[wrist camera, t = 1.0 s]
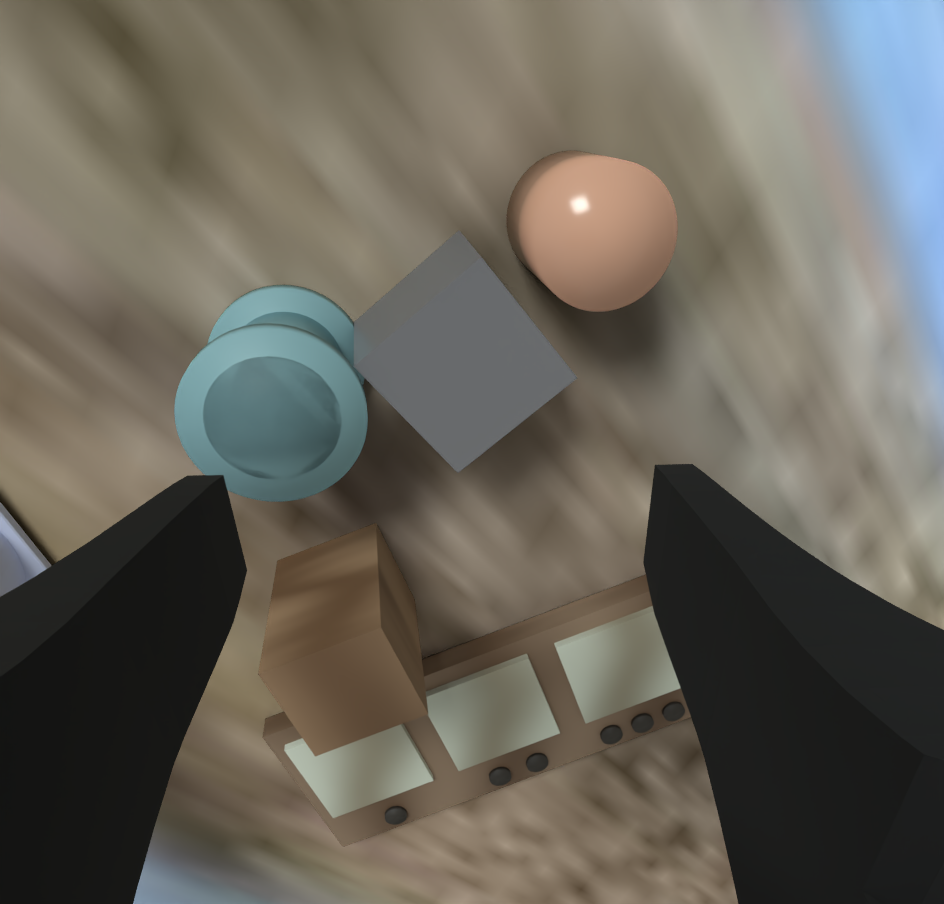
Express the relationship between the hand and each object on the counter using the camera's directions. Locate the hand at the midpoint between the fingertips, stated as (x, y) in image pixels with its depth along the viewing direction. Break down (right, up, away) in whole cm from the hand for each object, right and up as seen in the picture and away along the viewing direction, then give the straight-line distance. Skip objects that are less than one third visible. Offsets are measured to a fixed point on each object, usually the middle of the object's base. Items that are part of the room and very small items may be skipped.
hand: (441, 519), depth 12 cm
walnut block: (-4, -4, +16) cm, 17 cm away
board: (+1, -10, +20) cm, 22 cm away
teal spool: (-6, +4, +11) cm, 13 cm away
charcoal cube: (0, +5, +12) cm, 13 cm away
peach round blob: (+4, +9, +11) cm, 14 cm away
